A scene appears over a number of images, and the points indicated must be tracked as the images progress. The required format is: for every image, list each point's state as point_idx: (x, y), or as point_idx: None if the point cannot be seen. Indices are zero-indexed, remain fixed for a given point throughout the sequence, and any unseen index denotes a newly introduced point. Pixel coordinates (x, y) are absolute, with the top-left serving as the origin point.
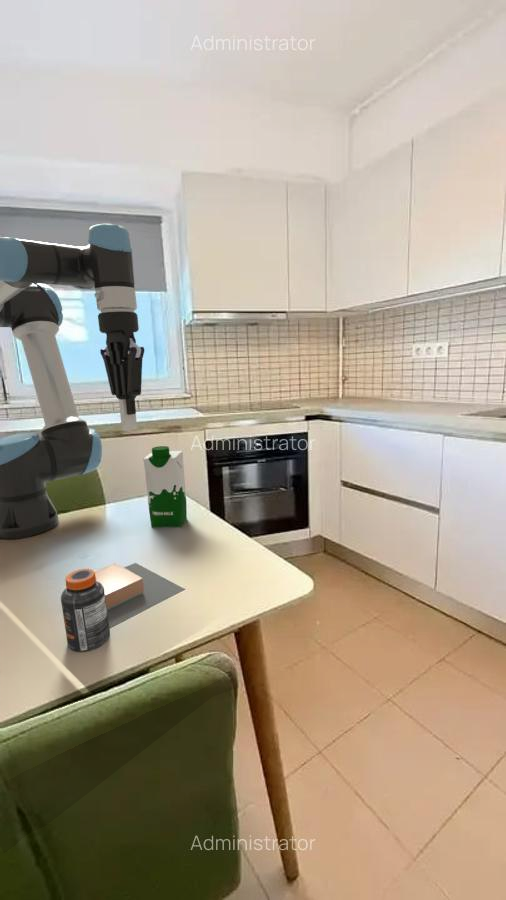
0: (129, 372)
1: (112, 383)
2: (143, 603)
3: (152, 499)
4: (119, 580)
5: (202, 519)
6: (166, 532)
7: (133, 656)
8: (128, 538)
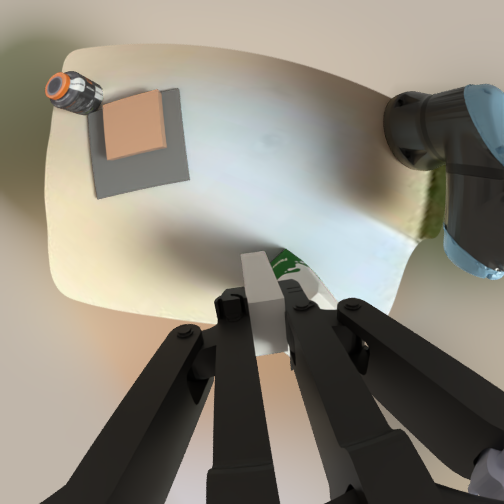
0: (129, 419)
1: (369, 334)
2: (100, 153)
3: (289, 267)
4: (119, 136)
5: None
6: None
7: (56, 126)
8: (282, 209)
